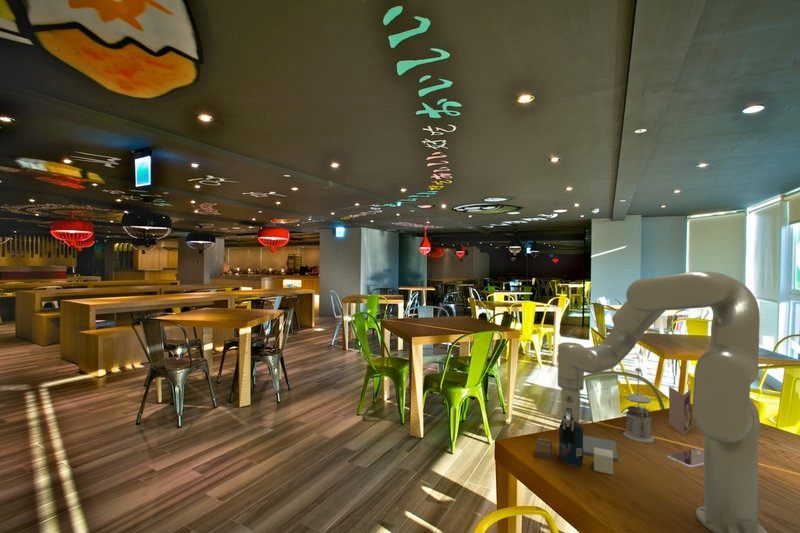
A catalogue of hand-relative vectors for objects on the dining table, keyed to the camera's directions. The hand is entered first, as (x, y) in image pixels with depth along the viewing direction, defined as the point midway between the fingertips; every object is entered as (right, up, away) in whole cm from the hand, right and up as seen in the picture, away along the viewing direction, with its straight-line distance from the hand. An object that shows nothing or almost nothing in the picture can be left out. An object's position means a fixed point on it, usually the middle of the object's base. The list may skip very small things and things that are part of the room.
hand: (569, 436), depth 119 cm
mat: (+12, -8, +9) cm, 17 cm away
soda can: (0, -8, -1) cm, 8 cm away
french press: (+34, -9, +18) cm, 39 cm away
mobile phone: (+41, -9, +2) cm, 42 cm away
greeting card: (+54, -9, +25) cm, 60 cm away
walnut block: (-7, -8, +3) cm, 11 cm away
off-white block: (+8, -8, -5) cm, 12 cm away
